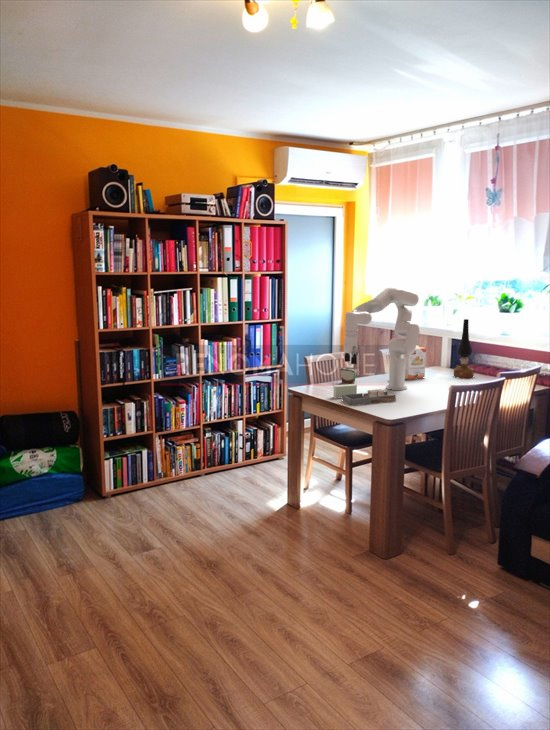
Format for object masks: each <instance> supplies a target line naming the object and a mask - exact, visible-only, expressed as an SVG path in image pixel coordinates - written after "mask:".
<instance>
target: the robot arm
mask: <svg viewBox="0 0 550 730" xmlns="http://www.w3.org/2000/svg"><path fill="white" fill-rule="evenodd" d="M419 300H420V299H419V296H418V294H417V293H416V292H415V291H411V290H409V289H404V288H401V287H388V288H385V289H384V290H383V291H382V292H380V293H379V294H377V295H376V296H375V297H374V298H372V299H371V300H367V301H365V302H363V303H361V304H359V305H357V306H356V307H354V309H352V310H351V311H347V312H345V319H344V321H345V322H344V340H343V352H344V362H346V363H347V362H349V363H350V364H351V365H357V363H358V362H357V360H358V359H357V358H358V337H359V336H358V335H359V325H365V326H366V325H368V324H370V323H371V322H372V317H373V316H372V315H371V314H374V313H378V312H381V311H383V310H384V309H385V308H387V307H388V306H389V305H390V304H392V303H394V304H395V306H396V309H397V316H396V322H395V326H394V334H395V335H397V336H400V337H395V338H394V337H393V338H391V339H390V340H389V341H388V346H387V347H388V352H389V366H388V367H389V368H388V369H389V371H388V372H389V375H388V380H387V383H388V385H386V389H387V390H390V389H392V390H391V391H404V390H407V389H408V386H407V385H405V382H406V379H405V357H404V355H411V354H413V353H414V351H415V349H416V347H417V345H418V340H419V336H420V326H419V324H418V323H416V322H414V321H412V317H413V313H412V308H411V307H414V306H417V304H418V303H419ZM401 337H403V338H401ZM404 337H405V338H404Z"/></svg>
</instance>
